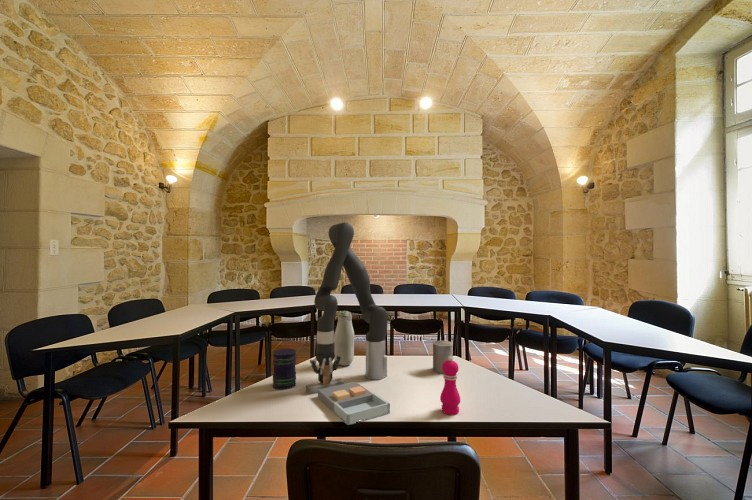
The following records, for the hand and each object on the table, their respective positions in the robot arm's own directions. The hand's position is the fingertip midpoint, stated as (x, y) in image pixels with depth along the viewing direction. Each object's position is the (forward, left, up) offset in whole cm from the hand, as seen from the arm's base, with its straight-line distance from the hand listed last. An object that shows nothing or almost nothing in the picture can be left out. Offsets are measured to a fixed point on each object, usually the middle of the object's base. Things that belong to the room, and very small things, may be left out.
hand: (325, 381), depth 148 cm
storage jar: (+14, -13, -3) cm, 19 cm away
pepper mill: (-31, +43, -3) cm, 53 cm away
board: (-3, +14, -3) cm, 15 cm away
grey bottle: (-21, -25, -3) cm, 33 cm away
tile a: (-6, +18, 0) cm, 19 cm away
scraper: (0, 0, -3) cm, 3 cm away
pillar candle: (-59, +8, -3) cm, 60 cm away
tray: (-3, +28, -3) cm, 28 cm away
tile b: (+1, +18, 0) cm, 18 cm away
